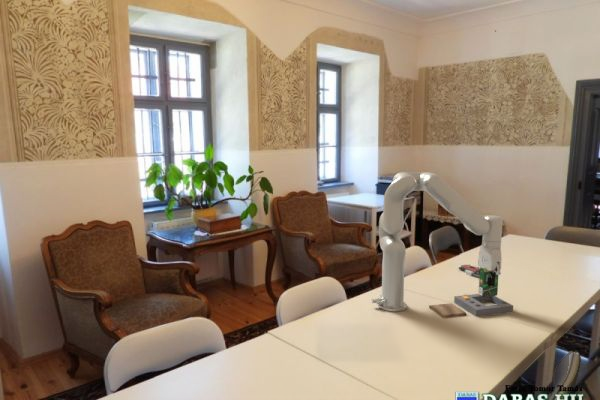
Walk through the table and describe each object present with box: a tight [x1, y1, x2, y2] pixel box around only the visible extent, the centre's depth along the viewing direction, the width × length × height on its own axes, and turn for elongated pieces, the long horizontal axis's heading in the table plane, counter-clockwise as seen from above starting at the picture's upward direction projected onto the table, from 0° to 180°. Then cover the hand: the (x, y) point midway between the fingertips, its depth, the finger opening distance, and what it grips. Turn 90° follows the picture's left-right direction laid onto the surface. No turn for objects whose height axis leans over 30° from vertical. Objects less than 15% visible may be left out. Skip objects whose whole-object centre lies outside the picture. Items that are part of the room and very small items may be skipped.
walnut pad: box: [428, 302, 467, 319], centre depth 183 cm, size 11×11×1 cm
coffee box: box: [478, 267, 499, 297], centre depth 186 cm, size 8×3×13 cm, turn 104°
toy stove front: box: [453, 293, 514, 317], centre depth 187 cm, size 18×16×4 cm
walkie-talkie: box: [458, 264, 480, 278], centre depth 233 cm, size 9×4×20 cm
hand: (488, 284), depth 186 cm, fingers closed on coffee box, 3 cm apart
